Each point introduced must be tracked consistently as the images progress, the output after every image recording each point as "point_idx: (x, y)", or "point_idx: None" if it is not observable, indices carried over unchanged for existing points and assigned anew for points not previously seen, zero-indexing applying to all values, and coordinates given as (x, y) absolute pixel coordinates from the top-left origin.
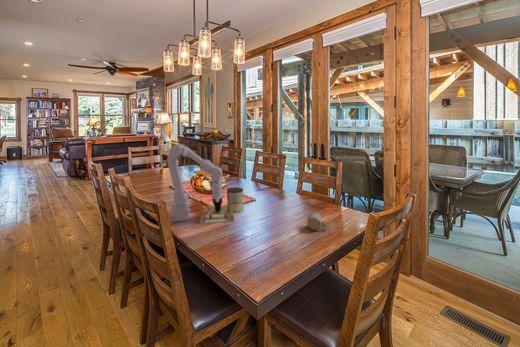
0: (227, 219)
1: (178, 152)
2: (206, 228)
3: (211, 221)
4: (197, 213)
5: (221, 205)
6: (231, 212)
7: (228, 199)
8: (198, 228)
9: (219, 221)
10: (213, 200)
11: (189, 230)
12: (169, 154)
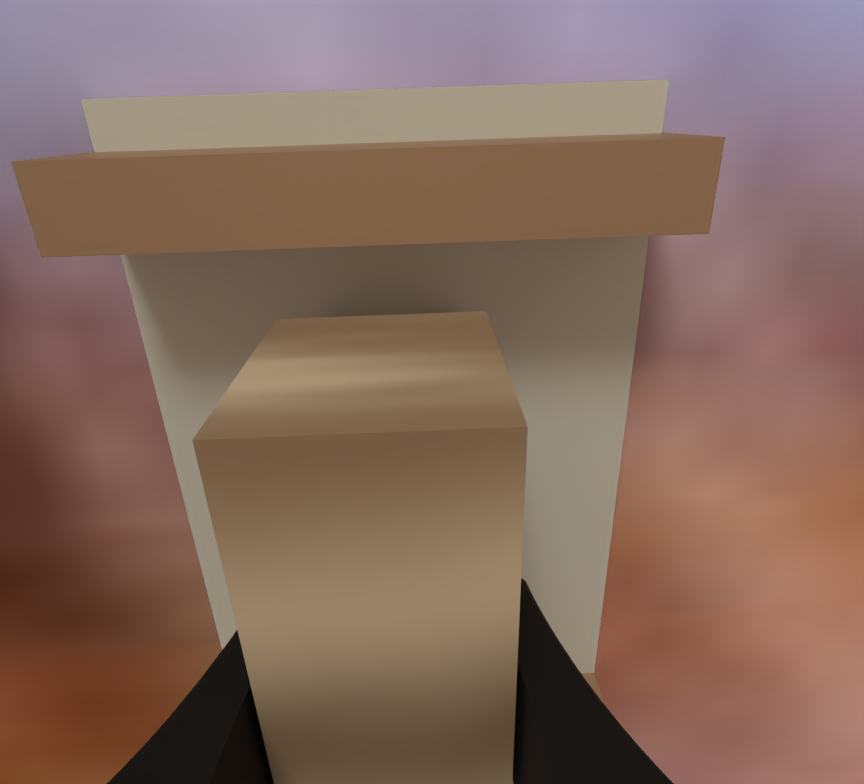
0: (547, 300)
1: None
2: (853, 619)
3: (597, 588)
4: (102, 780)
5: (347, 667)
6: (349, 214)
7: None
8: (804, 706)
9: (619, 459)
10: None
11: (833, 780)
12: None
